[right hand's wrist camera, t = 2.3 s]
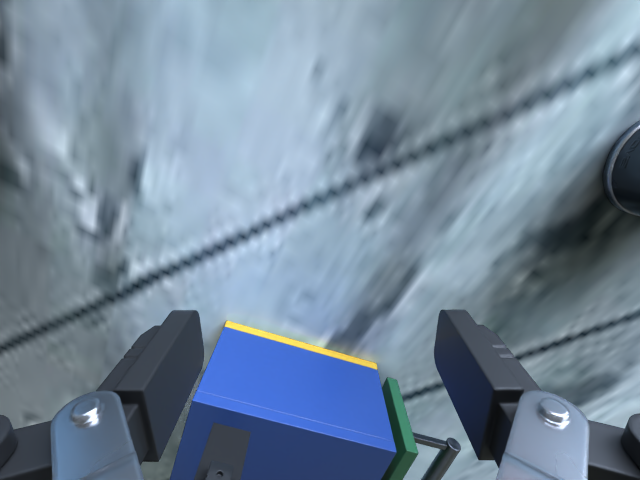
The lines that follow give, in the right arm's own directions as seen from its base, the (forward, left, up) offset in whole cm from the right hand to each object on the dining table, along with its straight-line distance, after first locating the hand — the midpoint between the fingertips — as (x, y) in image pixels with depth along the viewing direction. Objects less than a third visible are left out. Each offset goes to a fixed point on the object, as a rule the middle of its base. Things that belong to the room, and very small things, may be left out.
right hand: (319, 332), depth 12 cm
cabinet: (-7, +21, -22) cm, 32 cm away
